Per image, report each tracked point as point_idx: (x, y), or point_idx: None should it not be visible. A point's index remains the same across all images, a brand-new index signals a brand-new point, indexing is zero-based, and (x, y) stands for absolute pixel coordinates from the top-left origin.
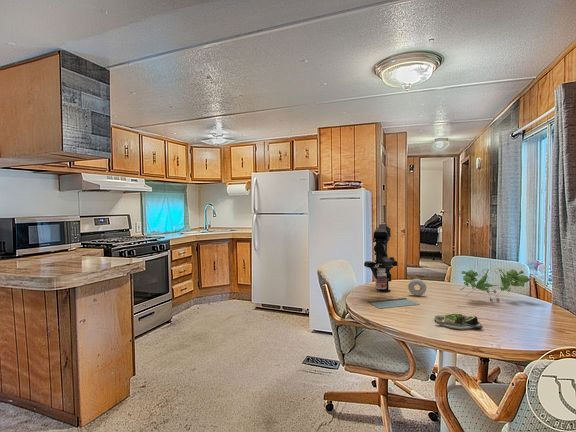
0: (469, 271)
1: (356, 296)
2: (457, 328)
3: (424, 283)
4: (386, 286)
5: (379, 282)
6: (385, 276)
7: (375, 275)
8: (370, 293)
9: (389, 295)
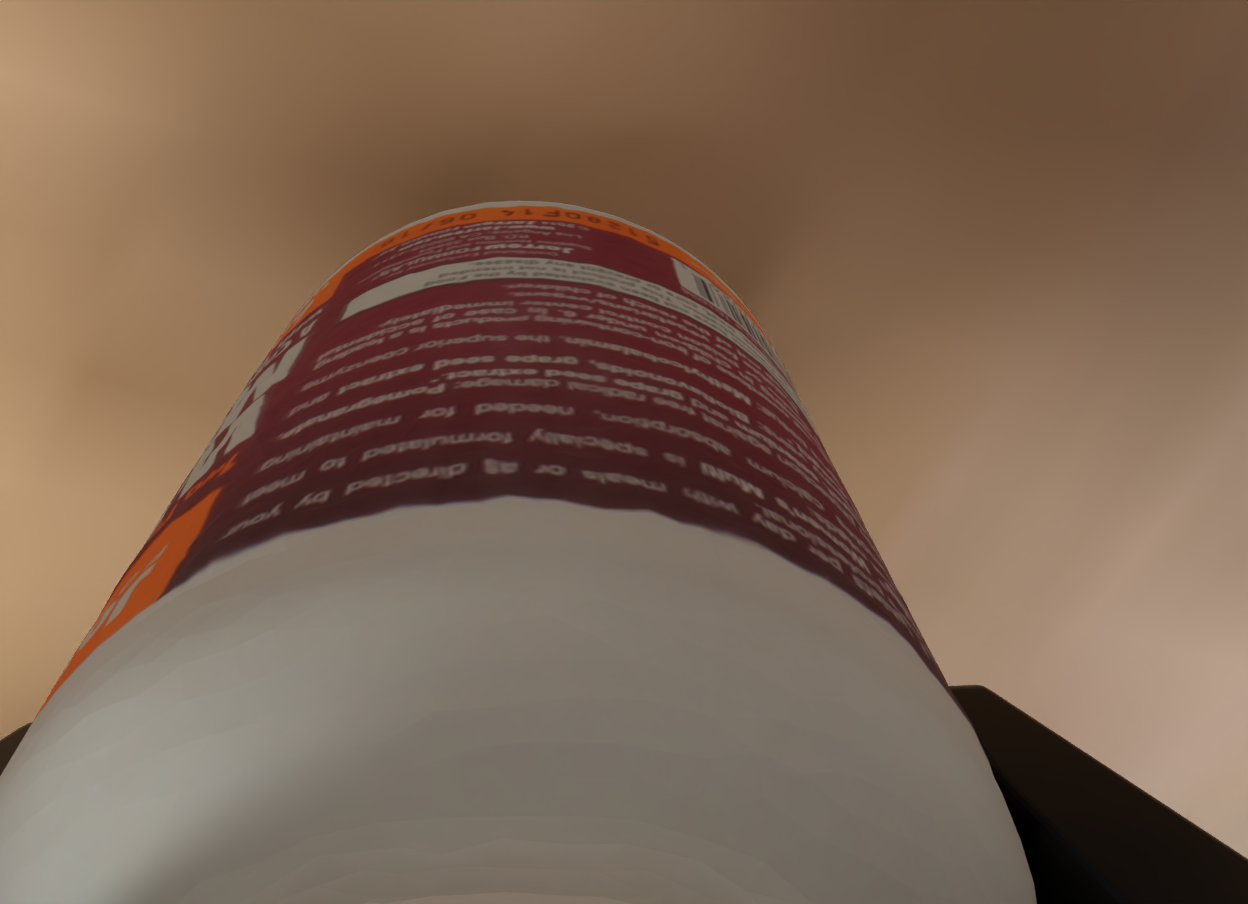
0: None
1: (1203, 636)
2: None
3: None
4: (294, 318)
5: (782, 401)
6: (251, 524)
7: (1214, 838)
8: None
9: (113, 481)
